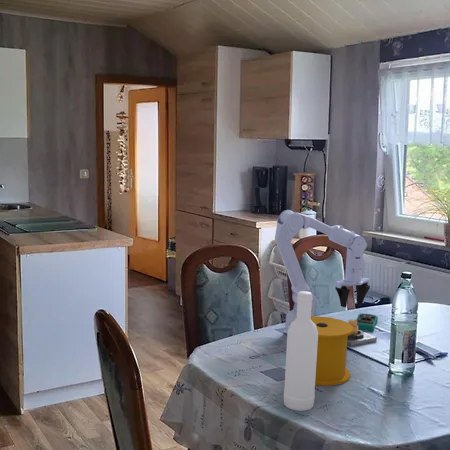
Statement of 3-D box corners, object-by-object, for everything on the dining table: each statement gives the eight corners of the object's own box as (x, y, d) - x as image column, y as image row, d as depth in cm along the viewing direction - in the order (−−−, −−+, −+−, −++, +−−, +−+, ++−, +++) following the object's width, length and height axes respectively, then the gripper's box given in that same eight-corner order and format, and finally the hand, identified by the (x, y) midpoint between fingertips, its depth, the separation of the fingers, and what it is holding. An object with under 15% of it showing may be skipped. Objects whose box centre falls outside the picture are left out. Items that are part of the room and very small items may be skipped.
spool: (352, 367, 191) (355, 319, 188) (347, 389, 173) (351, 337, 171) (293, 359, 195) (296, 312, 193) (283, 380, 178) (286, 330, 176)
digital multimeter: (377, 322, 239) (378, 314, 239) (373, 333, 225) (373, 325, 225) (358, 319, 242) (358, 312, 241) (352, 330, 228) (353, 322, 227)
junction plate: (350, 346, 209) (351, 339, 208) (326, 336, 219) (327, 329, 218) (376, 341, 215) (377, 334, 215) (352, 331, 225) (352, 324, 225)
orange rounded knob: (351, 337, 214) (352, 323, 213) (343, 333, 217) (344, 319, 216) (360, 335, 216) (361, 321, 215) (351, 332, 219) (352, 318, 218)
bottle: (277, 403, 163) (282, 291, 158) (296, 395, 168) (302, 287, 164) (301, 414, 157) (307, 298, 153) (320, 405, 163) (327, 293, 158)
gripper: (346, 272, 213) (343, 310, 215) (377, 268, 221) (374, 306, 223) (332, 268, 219) (330, 305, 221) (363, 264, 227) (360, 301, 229)
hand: (351, 305), depth 222 cm, fingers open, 7 cm apart
